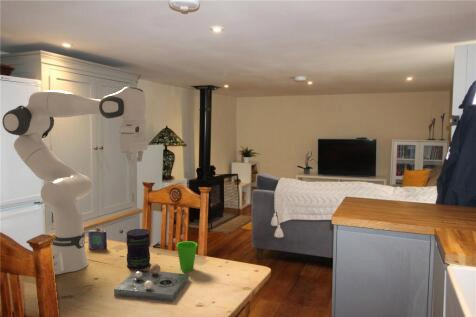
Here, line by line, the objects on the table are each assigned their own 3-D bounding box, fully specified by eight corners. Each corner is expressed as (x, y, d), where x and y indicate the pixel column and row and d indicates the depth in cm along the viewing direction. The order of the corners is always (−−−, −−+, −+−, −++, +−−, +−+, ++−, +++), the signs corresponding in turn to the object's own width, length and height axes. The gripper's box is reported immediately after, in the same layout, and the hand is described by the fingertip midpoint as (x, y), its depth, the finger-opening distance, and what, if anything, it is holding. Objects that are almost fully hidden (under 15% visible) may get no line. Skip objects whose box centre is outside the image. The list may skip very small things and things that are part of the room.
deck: (114, 295, 131) (114, 288, 131) (136, 275, 149) (136, 269, 148) (172, 301, 127) (172, 294, 127) (188, 280, 145) (188, 274, 145)
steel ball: (132, 281, 137) (132, 272, 137) (136, 277, 141) (136, 269, 140) (140, 281, 137) (140, 273, 137) (144, 278, 140) (144, 270, 140)
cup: (193, 274, 150) (193, 248, 149) (172, 272, 152) (172, 247, 151) (200, 266, 159) (200, 242, 158) (180, 264, 161) (180, 240, 160)
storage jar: (137, 259, 166) (137, 227, 164) (154, 263, 162) (154, 230, 160) (121, 267, 157) (121, 233, 155) (139, 271, 153) (139, 236, 151)
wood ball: (148, 275, 143) (148, 265, 142) (152, 271, 147) (152, 261, 146) (157, 276, 142) (157, 266, 142) (161, 272, 146) (161, 262, 146)
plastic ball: (142, 290, 130) (142, 282, 130) (146, 286, 133) (146, 278, 133) (150, 291, 129) (150, 283, 129) (154, 287, 132) (154, 279, 132)
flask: (87, 249, 179) (87, 227, 178) (90, 247, 182) (90, 226, 181) (105, 250, 178) (105, 228, 177) (108, 248, 181) (108, 226, 180)
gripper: (136, 127, 156) (137, 160, 157) (116, 128, 136) (116, 165, 137) (151, 128, 155) (151, 160, 157) (132, 128, 135) (133, 165, 136)
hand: (135, 162), depth 147 cm, fingers open, 8 cm apart
